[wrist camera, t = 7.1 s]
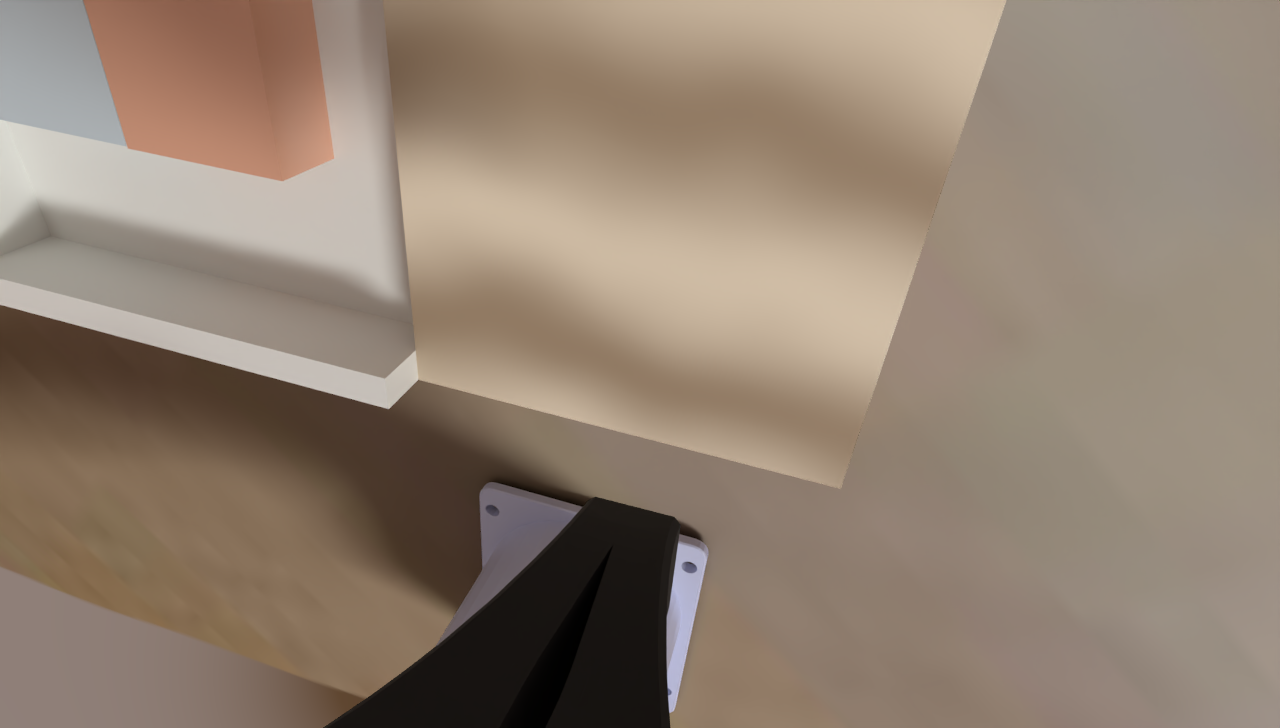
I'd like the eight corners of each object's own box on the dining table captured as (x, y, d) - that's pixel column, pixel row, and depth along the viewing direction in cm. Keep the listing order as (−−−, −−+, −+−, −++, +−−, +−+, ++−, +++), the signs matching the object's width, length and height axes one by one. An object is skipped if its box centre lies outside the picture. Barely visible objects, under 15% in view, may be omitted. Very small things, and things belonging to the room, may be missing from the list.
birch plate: (844, 441, 20) (840, 488, 18) (452, 345, 22) (418, 380, 20) (1103, -352, 11) (1141, -398, 9) (408, -382, 13) (342, -425, 12)
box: (452, 345, 22) (388, 408, 19) (59, 248, 25) (-48, 292, 22) (408, -382, 13) (279, -464, 10) (-193, -408, 16) (-427, -479, 13)
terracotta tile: (334, 158, 19) (282, 181, 17) (190, 129, 20) (127, 148, 18) (306, -36, 16) (243, -31, 15) (143, -60, 17) (65, -58, 16)
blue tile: (189, 127, 20) (126, 146, 18) (56, 100, 20) (-15, 116, 19) (141, -62, 17) (64, -60, 15) (-7, -85, 18) (-96, -85, 16)
